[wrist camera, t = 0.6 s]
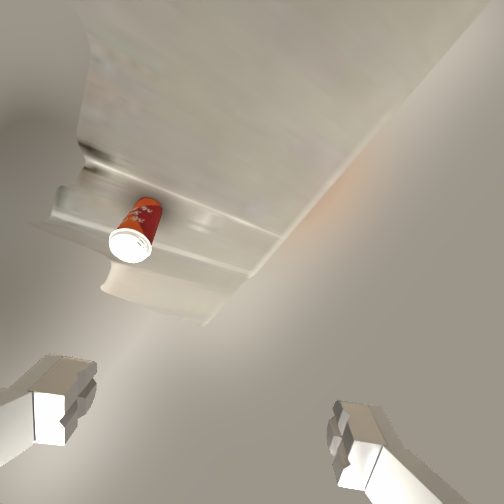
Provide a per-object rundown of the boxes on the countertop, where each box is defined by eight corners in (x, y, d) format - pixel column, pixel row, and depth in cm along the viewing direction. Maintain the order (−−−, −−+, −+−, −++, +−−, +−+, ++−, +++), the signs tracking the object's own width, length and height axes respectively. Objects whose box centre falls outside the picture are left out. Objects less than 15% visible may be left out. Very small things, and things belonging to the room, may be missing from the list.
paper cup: (150, 187, 62) (128, 226, 51) (174, 214, 66) (158, 255, 55) (123, 203, 64) (96, 243, 54) (147, 228, 69) (127, 270, 58)
